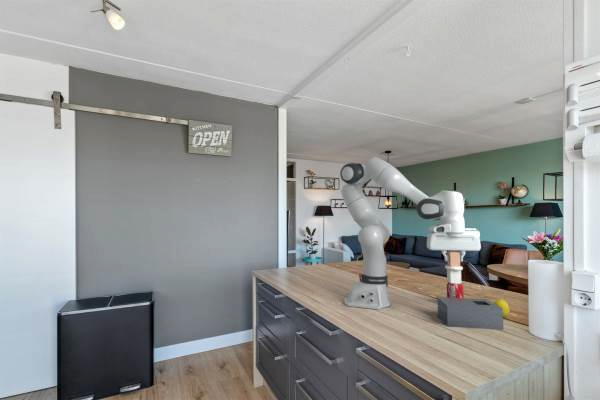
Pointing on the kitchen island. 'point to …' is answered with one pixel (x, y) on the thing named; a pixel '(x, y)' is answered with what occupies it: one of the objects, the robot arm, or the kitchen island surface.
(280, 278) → the kitchen island surface
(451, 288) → the soda can
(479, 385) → the kitchen island surface
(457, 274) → the pink white square peg
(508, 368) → the kitchen island surface
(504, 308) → the lemon
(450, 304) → the block
